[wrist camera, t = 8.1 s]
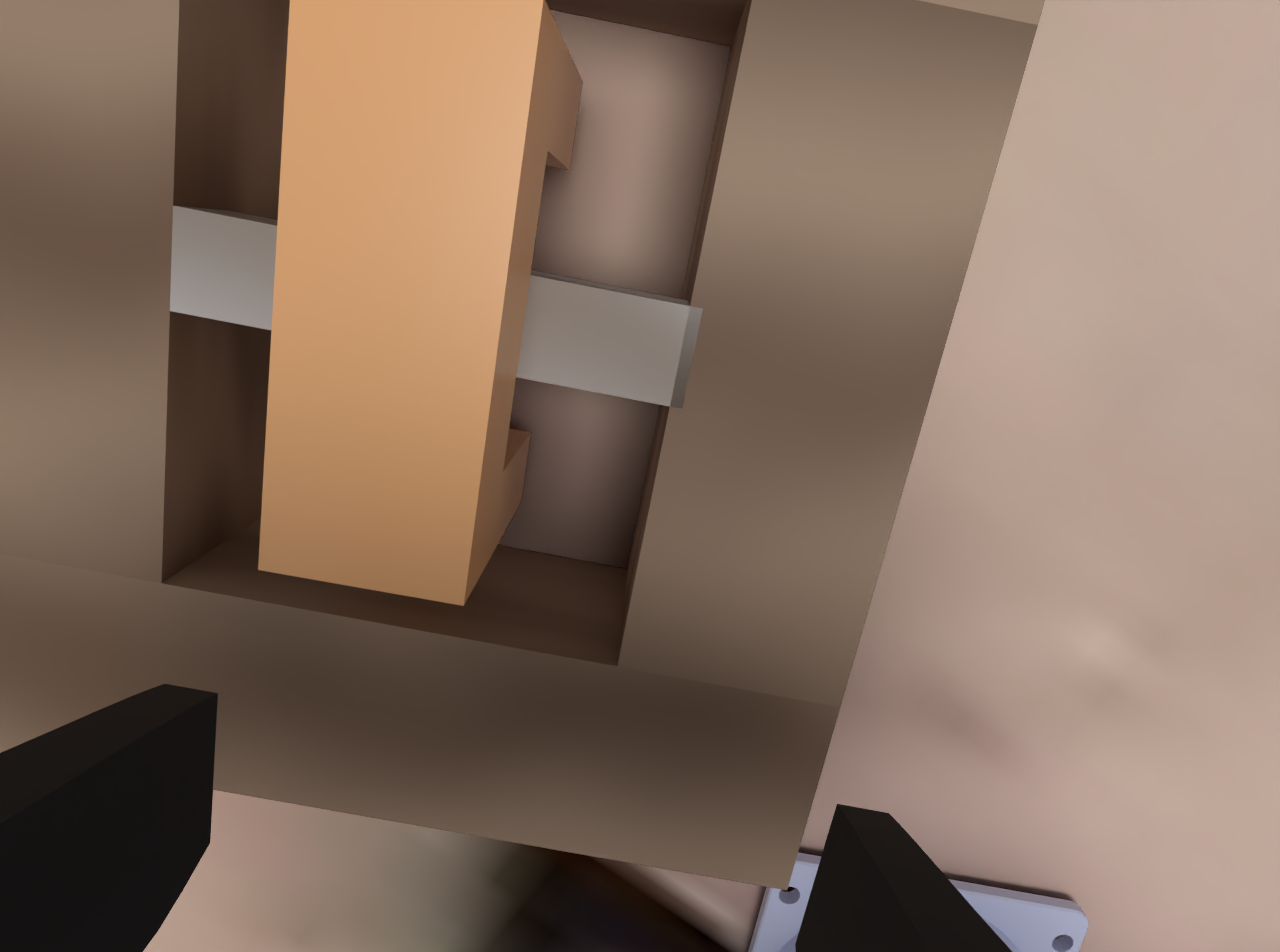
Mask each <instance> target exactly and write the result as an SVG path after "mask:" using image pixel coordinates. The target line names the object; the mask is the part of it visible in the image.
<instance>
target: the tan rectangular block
mask: <svg viewBox="0 0 1280 952" xmlns="http://www.w3.org/2000/svg"><path fill="white" fill-rule="evenodd" d="M582 83H583V81H582V79H581V77H580V75H579V73H578V70H577V68H576V66H575V64H574V62H573V60H572V57H571V55H570V53H569V51H568V49H567V47H566V44H565V42H564V40H563V38H562V36H561V33H560V31H559V29H558V27H557V25H556V23H555V20H554V18H553V16H552V14H551V12H550V10H549V7H548V5H547V3H546V1H545V0H290V7H289V25H288V43H287V61H286V79H285V96H284V114H283V132H282V150H281V168H280V186H279V204H278V222H277V240H276V258H275V276H274V294H273V312H272V330H271V348H270V366H269V384H268V402H267V420H266V438H265V455H264V473H263V491H262V509H261V527H260V545H259V563H258V570H262V571H267V572H273V573H279V574H284V575H290V576H296V577H301V578H307V579H313V580H319V581H324V582H330V583H336V584H341V585H347V586H353V587H359V588H364V589H370V590H376V591H381V592H387V593H393V594H399V595H404V596H410V597H416V598H421V599H427V600H433V601H439V602H444V603H450V604H456V605H461V606H464V605H465V603H466V601H467V599H468V597H469V595H470V594H471V592H472V590H473V588H474V586H475V585H476V583H477V581H478V579H479V577H480V576H481V574H482V572H483V570H484V568H485V567H486V565H487V563H488V561H489V559H490V558H491V556H492V554H493V552H494V550H495V549H496V547H497V545H498V543H499V541H500V539H501V538H502V536H503V534H504V532H505V530H506V529H507V527H508V525H509V523H510V521H511V520H512V518H513V516H514V514H515V512H516V511H517V509H518V507H519V505H520V503H521V498H522V491H523V485H524V478H525V471H526V464H527V457H528V450H529V444H530V437H531V432H527V431H521V430H516V429H510V428H509V426H510V418H511V411H512V404H513V397H514V390H515V383H516V375H517V368H518V361H519V354H520V347H521V339H522V332H523V325H524V318H525V311H526V303H527V296H528V289H529V282H530V275H531V268H532V260H533V253H534V246H535V239H536V232H537V224H538V217H539V210H540V203H541V196H542V188H543V181H544V174H545V167H546V165H547V166H552V167H557V168H562V169H568V170H570V164H571V158H572V151H573V144H574V137H575V130H576V124H577V117H578V110H579V103H580V96H581V90H582Z"/></svg>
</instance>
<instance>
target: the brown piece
mask: <svg viewBox="0 0 1280 952" xmlns="http://www.w3.org/2000/svg"><path fill="white" fill-rule="evenodd" d="M545 1H546V3H547V5H548V7H549V9H552V10H557V11H562V12H567V13H572V14H576V15H581V16H586V17H591V18H596V19H601V20H606V21H611V22H616V23H621V24H625V25H630V26H635V27H640V28H645V29H650V30H655V31H660V32H665V33H670V34H675V35H679V36H684V37H689V38H694V39H699V40H704V41H709V42H714V43H719V44H724V45H729V46H731V50H730V55H729V60H728V65H727V70H726V75H725V80H724V85H723V90H722V95H721V101H720V106H719V111H718V116H717V121H716V126H715V131H714V136H713V141H712V146H711V151H710V156H709V161H708V166H707V171H706V176H705V181H704V186H703V191H702V196H701V201H700V206H699V211H698V216H697V221H696V226H695V231H694V237H693V242H692V247H691V252H690V257H689V262H688V267H687V272H686V277H685V282H684V287H683V292H682V297H681V299H678V298H673V297H668V296H663V295H658V294H653V293H648V292H642V291H637V290H632V289H627V288H622V287H617V286H612V285H607V284H601V283H596V282H591V281H586V280H581V279H576V278H571V277H565V276H560V275H555V274H550V273H545V272H540V271H535V270H531V275H530V282H529V289H528V296H527V303H526V311H525V318H524V325H523V332H522V339H521V347H520V354H519V361H518V368H517V375H516V377H518V378H523V379H528V380H533V381H538V382H544V383H549V384H554V385H559V386H565V387H570V388H575V389H580V390H586V391H591V392H596V393H601V394H606V395H612V396H617V397H622V398H627V399H633V400H638V401H643V402H648V403H653V404H659V405H660V408H659V413H658V418H657V423H656V428H655V433H654V438H653V443H652V448H651V453H650V458H649V463H648V468H647V473H646V478H645V483H644V488H643V493H642V498H641V503H640V508H639V514H638V519H637V524H636V529H635V534H634V539H633V544H632V549H631V554H630V559H629V564H628V569H623V568H618V567H613V566H607V565H602V564H597V563H591V562H586V561H580V560H575V559H570V558H564V557H559V556H553V555H548V554H543V553H537V552H532V551H526V550H521V549H516V548H510V547H505V546H499V545H497V547H496V549H495V550H494V552H493V554H492V556H491V558H490V559H489V561H488V563H487V565H486V567H485V568H484V570H483V572H482V574H481V576H480V577H479V579H478V581H477V583H476V585H475V586H474V588H473V590H472V592H471V594H470V595H469V597H468V599H467V601H466V603H465V605H464V606H461V605H456V604H450V603H444V602H439V601H433V600H427V599H421V598H416V597H410V596H404V595H399V594H393V593H387V592H381V591H376V590H370V589H364V588H359V587H353V586H347V585H341V584H336V583H330V582H324V581H319V580H313V579H307V578H301V577H296V576H290V575H284V574H279V573H273V572H267V571H262V570H258V563H259V545H260V527H261V509H262V491H263V473H264V455H265V438H266V420H267V402H268V384H269V366H270V348H271V330H272V312H273V294H274V276H275V258H276V240H277V222H278V204H279V186H280V168H281V150H282V132H283V114H284V96H285V79H286V61H287V43H288V25H289V7H290V0H0V752H3V751H6V750H8V749H10V748H13V747H15V746H17V745H20V744H22V743H24V742H27V741H29V740H31V739H33V738H36V737H38V736H40V735H43V734H45V733H47V732H50V731H52V730H54V729H56V728H59V727H61V726H63V725H66V724H68V723H70V722H72V721H75V720H77V719H79V718H82V717H84V716H86V715H88V714H91V713H93V712H95V711H98V710H100V709H102V708H105V707H107V706H109V705H112V704H114V703H116V702H119V701H121V700H124V699H126V698H128V697H131V696H133V695H136V694H138V693H141V692H143V691H146V690H149V689H151V688H154V687H157V686H160V685H162V684H170V685H175V686H181V687H187V688H192V689H198V690H203V691H209V692H214V693H218V702H217V721H216V740H215V759H214V777H213V790H218V791H224V792H230V793H236V794H241V795H247V796H253V797H258V798H264V799H270V800H275V801H281V802H287V803H292V804H298V805H304V806H310V807H315V808H321V809H327V810H332V811H338V812H344V813H349V814H355V815H361V816H366V817H372V818H378V819H384V820H389V821H395V822H401V823H406V824H412V825H418V826H423V827H429V828H435V829H440V830H446V831H452V832H458V833H463V834H469V835H475V836H480V837H486V838H492V839H497V840H503V841H509V842H514V843H520V844H526V845H532V846H537V847H543V848H549V849H554V850H560V851H566V852H571V853H577V854H583V855H588V856H594V857H600V858H606V859H611V860H617V861H623V862H628V863H634V864H640V865H645V866H651V867H657V868H662V869H668V870H674V871H680V872H685V873H691V874H697V875H702V876H708V877H714V878H719V879H725V880H731V881H736V882H742V883H748V884H754V885H759V886H765V887H771V888H776V889H782V890H787V889H788V885H789V882H790V879H791V875H792V872H793V868H794V865H795V861H796V858H797V854H798V851H799V848H800V844H801V841H802V837H803V834H804V830H805V827H806V823H807V820H808V816H809V813H810V810H811V806H812V803H813V799H814V796H815V792H816V789H817V785H818V782H819V778H820V775H821V772H822V768H823V765H824V761H825V758H826V754H827V751H828V747H829V744H830V741H831V737H832V734H833V730H834V727H835V723H836V720H837V716H838V713H839V709H840V706H841V703H842V699H843V696H844V692H845V689H846V685H847V682H848V678H849V675H850V671H851V668H852V665H853V661H854V658H855V654H856V651H857V647H858V644H859V640H860V637H861V633H862V630H863V627H864V623H865V620H866V616H867V613H868V609H869V606H870V602H871V599H872V596H873V592H874V589H875V585H876V582H877V578H878V575H879V571H880V568H881V564H882V561H883V558H884V554H885V551H886V547H887V544H888V540H889V537H890V533H891V530H892V526H893V523H894V520H895V516H896V513H897V509H898V506H899V502H900V499H901V495H902V492H903V489H904V485H905V482H906V478H907V475H908V471H909V468H910V464H911V461H912V457H913V454H914V451H915V447H916V444H917V440H918V437H919V433H920V430H921V426H922V423H923V419H924V416H925V413H926V409H927V406H928V402H929V399H930V395H931V392H932V388H933V385H934V382H935V378H936V375H937V371H938V368H939V364H940V361H941V357H942V354H943V350H944V347H945V344H946V340H947V337H948V333H949V330H950V326H951V323H952V319H953V316H954V312H955V309H956V306H957V302H958V299H959V295H960V292H961V288H962V285H963V281H964V278H965V274H966V271H967V268H968V264H969V261H970V257H971V254H972V250H973V247H974V243H975V240H976V237H977V233H978V230H979V226H980V223H981V219H982V216H983V212H984V209H985V205H986V202H987V199H988V195H989V192H990V188H991V185H992V181H993V178H994V174H995V171H996V167H997V164H998V161H999V157H1000V154H1001V150H1002V147H1003V143H1004V140H1005V136H1006V133H1007V130H1008V126H1009V123H1010V119H1011V116H1012V112H1013V109H1014V105H1015V102H1016V98H1017V95H1018V92H1019V88H1020V85H1021V81H1022V78H1023V74H1024V71H1025V67H1026V64H1027V60H1028V57H1029V54H1030V50H1031V47H1032V43H1033V40H1034V36H1035V33H1036V29H1037V26H1038V23H1039V19H1040V16H1041V12H1042V9H1043V5H1044V2H1045V0H545Z"/></svg>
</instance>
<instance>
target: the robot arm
mask: <svg viewBox="0 0 1280 952" xmlns="http://www.w3.org/2000/svg"><path fill="white" fill-rule="evenodd" d="M217 702H218V693H214V692H209V691H203V690H198V689H192V688H187V687H181V686H175V685H170V684H162V685H160V686H157V687H154V688H151V689H149V690H146V691H143V692H141V693H138V694H136V695H133V696H131V697H128V698H126V699H124V700H121V701H119V702H116V703H114V704H112V705H109V706H107V707H105V708H102V709H100V710H98V711H95V712H93V713H91V714H88V715H86V716H84V717H82V718H79V719H77V720H75V721H72V722H70V723H68V724H66V725H63V726H61V727H59V728H56V729H54V730H52V731H50V732H47V733H45V734H43V735H40V736H38V737H36V738H33V739H31V740H29V741H27V742H24V743H22V744H20V745H17V746H15V747H13V748H10V749H8V750H6V751H3V752H1V753H0V952H143V950H144V949H145V948H146V946H147V945H148V944H149V942H150V941H151V940H152V938H153V937H154V935H155V934H156V933H157V931H158V930H159V928H160V927H161V925H162V923H163V922H164V920H165V918H166V917H167V915H168V913H169V912H170V910H171V909H172V907H173V905H174V904H175V902H176V900H177V899H178V897H179V895H180V894H181V892H182V891H183V889H184V887H185V885H186V884H187V882H188V880H189V878H190V877H191V875H192V873H193V871H194V870H195V868H196V866H197V864H198V863H199V861H200V859H201V857H202V856H203V854H204V852H205V851H206V849H207V847H208V845H209V844H210V833H211V815H212V796H213V777H214V759H215V740H216V721H217ZM788 887H794V888H795V889H794V890H792V891H790V892H784V891H781V889H776V888H771V887H766V890H765V894H764V897H763V901H762V904H761V908H760V911H759V915H758V919H757V922H756V926H755V929H754V933H753V936H752V940H751V943H750V947H749V951H748V952H1078V951H1079V949H1080V946H1081V944H1082V942H1083V939H1084V937H1085V934H1086V932H1087V930H1088V924H1089V922H1088V919H1087V917H1086V915H1085V913H1084V912H1083V910H1082V909H1081V907H1080V906H1079V905H1078V904H1076V903H1075V902H1072V901H1069V900H1064V899H1058V898H1053V897H1047V896H1041V895H1036V894H1030V893H1024V892H1019V891H1013V890H1008V889H1002V888H996V887H991V886H985V885H979V884H974V883H968V882H962V881H957V880H951V879H948V878H947V877H946V876H945V875H944V874H943V873H942V872H941V870H940V869H939V868H938V867H937V866H936V865H935V864H934V862H933V861H932V860H931V859H930V858H929V857H928V856H927V854H926V853H925V852H924V851H923V850H922V849H921V848H920V847H919V845H918V844H917V843H916V842H915V841H914V840H913V839H912V838H911V836H910V835H909V834H908V833H907V832H906V831H905V830H904V829H903V828H902V827H901V825H900V824H899V823H898V822H897V821H896V820H895V819H894V818H893V817H892V816H891V815H890V814H889V813H884V812H879V811H873V810H868V809H862V808H857V807H851V806H845V805H840V804H837V806H836V810H835V813H834V816H833V820H832V823H831V826H830V830H829V833H828V836H827V840H826V843H825V846H824V850H823V853H822V856H815V855H810V854H804V853H798V854H797V858H796V861H795V865H794V868H793V872H792V875H791V879H790V882H789V885H788ZM1060 935H1063V936H1062V937H1060V938H1058V939H1055V937H1057V936H1060Z"/></svg>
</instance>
